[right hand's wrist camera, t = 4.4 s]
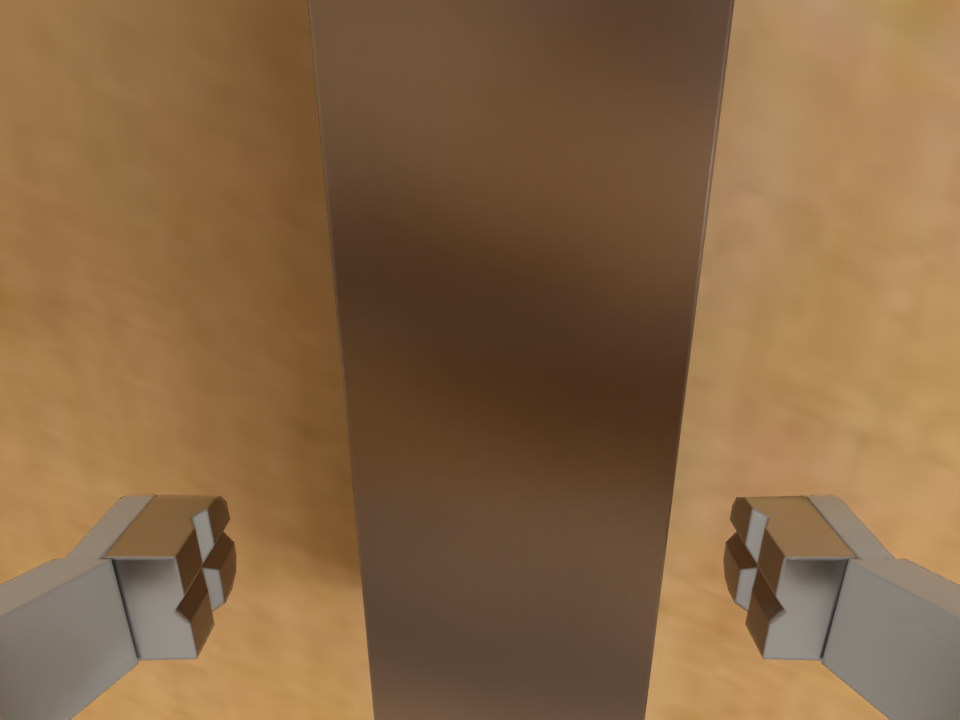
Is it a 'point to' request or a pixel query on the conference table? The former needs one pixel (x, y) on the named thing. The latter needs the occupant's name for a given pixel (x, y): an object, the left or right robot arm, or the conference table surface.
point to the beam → (515, 333)
